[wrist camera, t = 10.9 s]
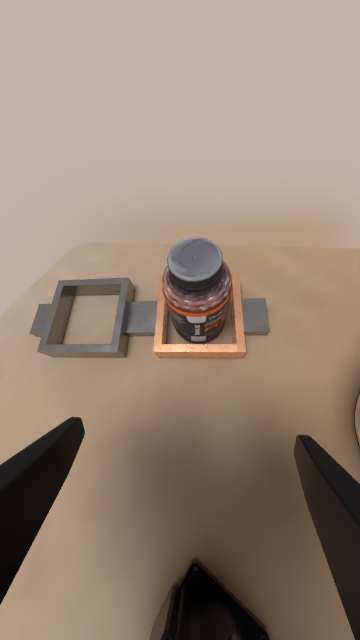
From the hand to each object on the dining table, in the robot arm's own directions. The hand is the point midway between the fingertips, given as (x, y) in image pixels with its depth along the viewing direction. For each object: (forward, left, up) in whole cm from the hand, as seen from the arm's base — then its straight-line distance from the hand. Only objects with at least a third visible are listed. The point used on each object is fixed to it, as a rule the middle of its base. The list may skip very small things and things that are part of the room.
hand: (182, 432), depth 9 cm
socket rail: (+11, -6, -13) cm, 18 cm away
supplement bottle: (+6, -9, -14) cm, 18 cm away
